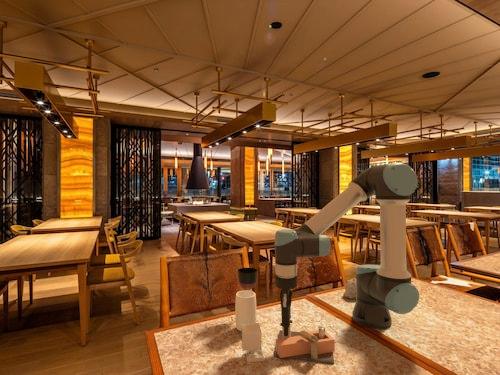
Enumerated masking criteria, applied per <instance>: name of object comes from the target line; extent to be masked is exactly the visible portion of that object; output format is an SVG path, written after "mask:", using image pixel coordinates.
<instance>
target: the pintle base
mask: <svg viewBox="0 0 500 375" xmlns="http://www.w3.org/2000/svg"><path fill="white" fill-rule="evenodd" d="M317 331H318V337H319V340H321V339H325V331H326V328H325V327H324V326H318V330H317ZM294 336H301V337H303V338H304V339H306V340H308V341H310V342H311V353H307V354H301V355H295V356H289V357H283V358H282V359H287V360H297V361H304V362H310V363H311V362H312V363H320V364H321V363H322V364H328V363H329V365H334V364H335V359H334V357H335V356H334V352H329V353H323V354H317V342H318V338H317V336H313V335H311V334H309V333H308V332H307V331H305V330H302V331H292V330H291V337H294ZM280 338H282V330H281V329H279V332H278V336H277V339H280ZM273 357H274V358H276V359H277V358H278V359H281V358H280V357H279V355H278V354H277V352H276V348H275V350H274V353H273Z"/></svg>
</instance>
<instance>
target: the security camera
mask: <svg viewBox="0 0 500 375" xmlns="http://www.w3.org/2000/svg"><path fill="white" fill-rule="evenodd" d="M240 332H241V334H240V335H241V337H240V338H241V339H240V340H241V349H242V352H245V354H246V355H245V356H246V362H248V363H251V362H264V360H265V356H264V353H263V352H264V351H263V348H262V328H261V324H260V322H256V323H248V324H242V325H241V331H240Z"/></svg>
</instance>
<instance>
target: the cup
mask: <svg viewBox="0 0 500 375" xmlns="http://www.w3.org/2000/svg"><path fill="white" fill-rule="evenodd" d="M234 303H235V309H234V310H235V311H234V312H235V315H234V316H235V328H236V329H237V330H238V331H240V332H241V325H242V324H248V323H257V298H256V292H254V291H253V290H249V291H248V290H246V289H244V290H239V291H237V292H236V294H235V302H234Z"/></svg>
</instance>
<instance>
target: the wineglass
mask: <svg viewBox="0 0 500 375" xmlns="http://www.w3.org/2000/svg"><path fill="white" fill-rule="evenodd" d="M237 278H238V283H239V286H240V288H242V289H244V290H248V291H251V290H252V289H253V288H255V287H256V285H257V280H258V269H257V268H254V267H241V268H239V269H238V270H237Z"/></svg>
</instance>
